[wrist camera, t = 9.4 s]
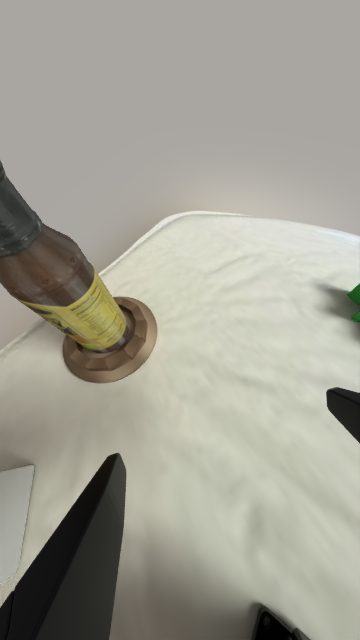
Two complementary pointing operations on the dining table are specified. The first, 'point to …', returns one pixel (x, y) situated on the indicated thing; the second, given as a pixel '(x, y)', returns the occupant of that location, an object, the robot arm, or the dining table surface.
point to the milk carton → (13, 516)
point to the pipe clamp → (356, 294)
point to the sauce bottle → (55, 276)
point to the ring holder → (122, 359)
